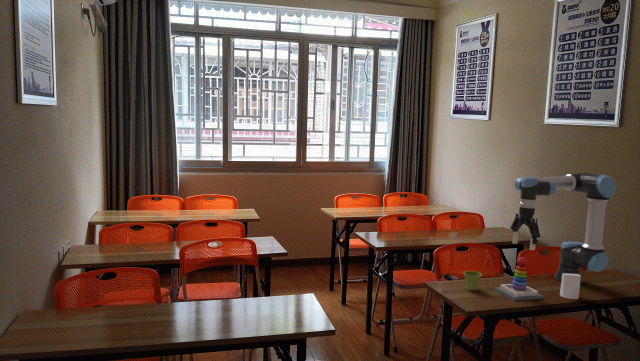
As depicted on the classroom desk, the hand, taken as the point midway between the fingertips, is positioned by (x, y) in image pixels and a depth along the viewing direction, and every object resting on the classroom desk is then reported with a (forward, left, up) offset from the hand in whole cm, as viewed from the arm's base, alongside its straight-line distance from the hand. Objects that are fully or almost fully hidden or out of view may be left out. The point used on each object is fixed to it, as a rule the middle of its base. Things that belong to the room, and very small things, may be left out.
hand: (523, 246), depth 270 cm
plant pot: (+21, -12, -26) cm, 36 cm away
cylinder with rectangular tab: (-27, +7, -26) cm, 38 cm away
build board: (0, 0, -26) cm, 26 cm away
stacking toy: (0, 0, -25) cm, 25 cm away
